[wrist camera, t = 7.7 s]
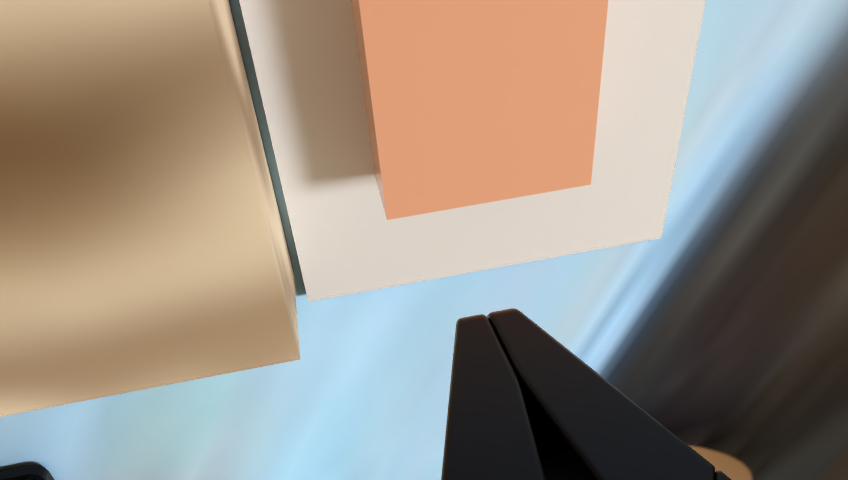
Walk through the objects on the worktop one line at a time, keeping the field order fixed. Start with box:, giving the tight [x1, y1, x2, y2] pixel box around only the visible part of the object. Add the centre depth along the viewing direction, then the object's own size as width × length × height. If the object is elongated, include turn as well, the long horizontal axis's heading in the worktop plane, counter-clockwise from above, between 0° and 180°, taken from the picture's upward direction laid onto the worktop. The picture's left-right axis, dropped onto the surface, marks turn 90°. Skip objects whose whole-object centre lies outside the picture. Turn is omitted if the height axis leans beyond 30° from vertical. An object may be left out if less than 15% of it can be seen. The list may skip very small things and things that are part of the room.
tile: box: [351, 0, 608, 220], centre depth 17 cm, size 9×6×2 cm, turn 4°
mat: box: [239, 0, 706, 302], centre depth 19 cm, size 18×13×1 cm
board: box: [0, 0, 300, 417], centre depth 16 cm, size 16×9×4 cm, turn 3°
